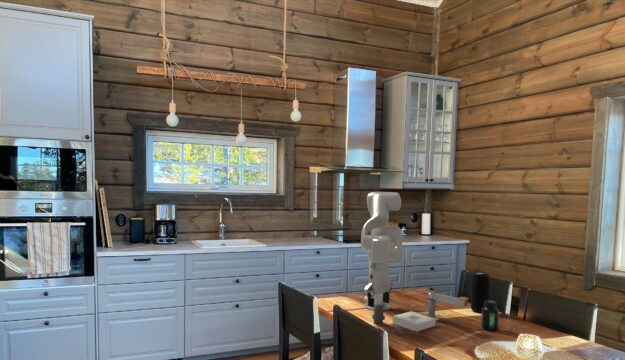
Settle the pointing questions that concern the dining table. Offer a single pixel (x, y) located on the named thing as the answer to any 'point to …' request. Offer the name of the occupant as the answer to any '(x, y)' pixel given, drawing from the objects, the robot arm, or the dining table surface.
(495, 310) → the supplement bottle
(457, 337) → the dining table surface
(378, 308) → the plug
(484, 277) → the portable speaker
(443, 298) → the grey long bar
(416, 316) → the socket block
